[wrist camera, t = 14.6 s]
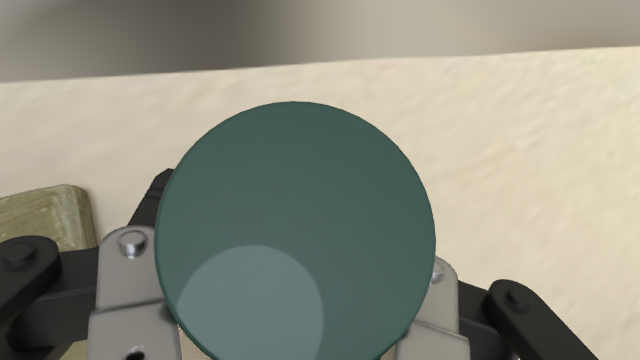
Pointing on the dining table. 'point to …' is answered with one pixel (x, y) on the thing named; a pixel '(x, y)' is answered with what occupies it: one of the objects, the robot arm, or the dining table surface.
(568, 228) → the dining table surface
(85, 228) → the decorative tile
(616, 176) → the dining table surface
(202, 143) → the chip column
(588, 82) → the dining table surface
